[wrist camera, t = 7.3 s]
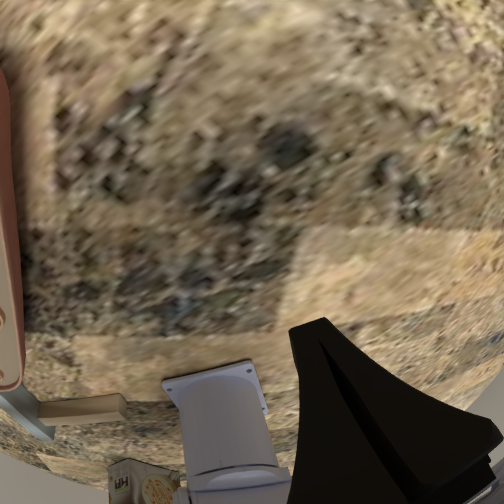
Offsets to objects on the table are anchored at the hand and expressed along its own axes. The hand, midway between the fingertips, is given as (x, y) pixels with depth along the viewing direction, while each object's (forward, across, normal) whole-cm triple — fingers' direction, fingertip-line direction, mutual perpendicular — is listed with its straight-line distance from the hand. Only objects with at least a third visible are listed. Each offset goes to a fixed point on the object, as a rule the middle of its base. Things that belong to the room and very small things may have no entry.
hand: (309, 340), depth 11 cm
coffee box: (+10, +23, +32) cm, 41 cm away
